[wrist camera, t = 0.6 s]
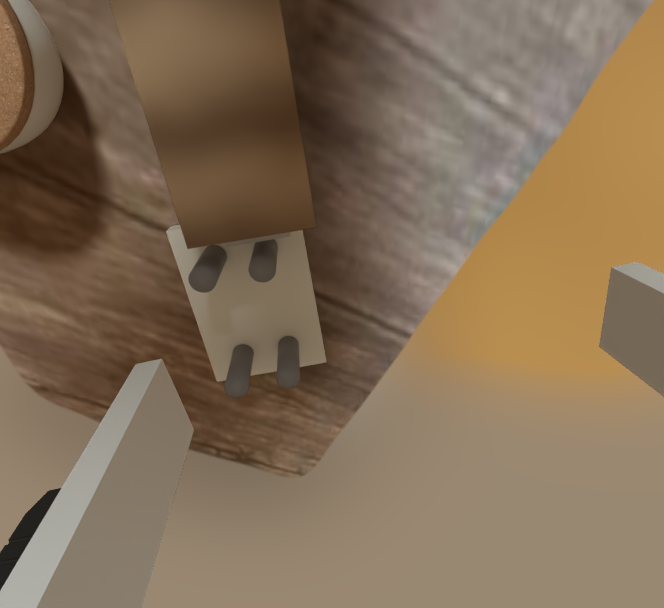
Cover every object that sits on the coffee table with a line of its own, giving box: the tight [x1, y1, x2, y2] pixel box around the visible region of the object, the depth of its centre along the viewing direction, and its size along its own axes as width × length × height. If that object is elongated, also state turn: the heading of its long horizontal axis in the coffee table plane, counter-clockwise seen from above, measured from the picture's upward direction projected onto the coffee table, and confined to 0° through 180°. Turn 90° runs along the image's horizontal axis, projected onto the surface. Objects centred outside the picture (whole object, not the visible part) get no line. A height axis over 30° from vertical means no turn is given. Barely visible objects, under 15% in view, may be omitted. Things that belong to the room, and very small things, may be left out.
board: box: [109, 0, 317, 249], centre depth 23 cm, size 14×8×2 cm, turn 8°
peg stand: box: [166, 225, 326, 398], centre depth 31 cm, size 14×10×6 cm
